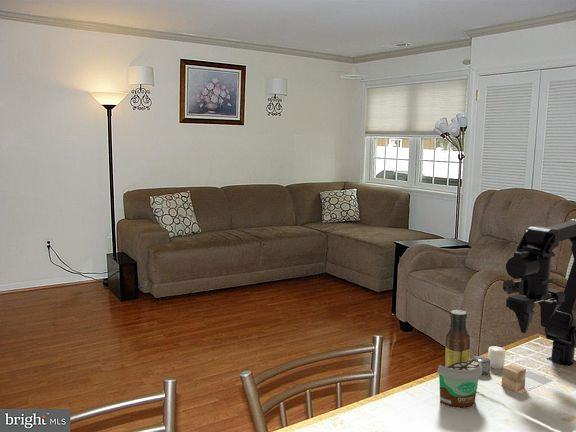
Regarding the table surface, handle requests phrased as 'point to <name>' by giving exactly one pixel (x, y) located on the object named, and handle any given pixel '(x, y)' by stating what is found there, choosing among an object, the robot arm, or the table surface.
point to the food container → (459, 383)
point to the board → (531, 381)
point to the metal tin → (484, 364)
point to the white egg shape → (496, 357)
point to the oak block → (513, 377)
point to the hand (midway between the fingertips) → (533, 329)
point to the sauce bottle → (457, 339)
